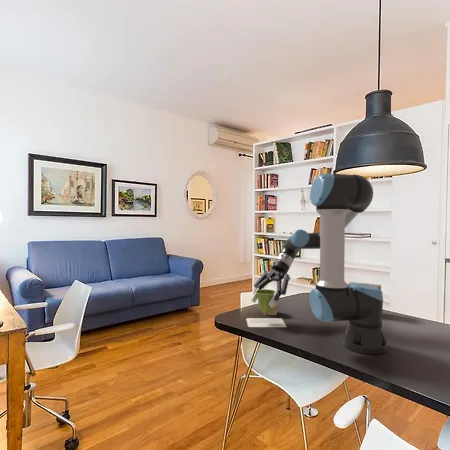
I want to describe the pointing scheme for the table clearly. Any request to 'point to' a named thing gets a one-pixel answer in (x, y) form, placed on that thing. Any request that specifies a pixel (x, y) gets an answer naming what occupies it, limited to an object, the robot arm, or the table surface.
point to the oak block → (272, 311)
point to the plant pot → (265, 299)
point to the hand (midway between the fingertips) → (261, 303)
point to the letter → (265, 322)
